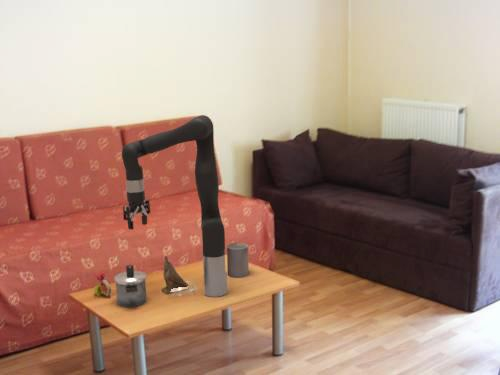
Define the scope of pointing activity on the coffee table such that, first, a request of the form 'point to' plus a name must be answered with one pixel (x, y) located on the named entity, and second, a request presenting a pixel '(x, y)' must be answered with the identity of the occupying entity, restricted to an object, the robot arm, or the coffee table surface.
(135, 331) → the coffee table surface
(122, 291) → the cooker pot
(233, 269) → the pillar candle
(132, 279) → the cooker lid
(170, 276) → the worn brown figurine
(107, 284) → the bird rattle
